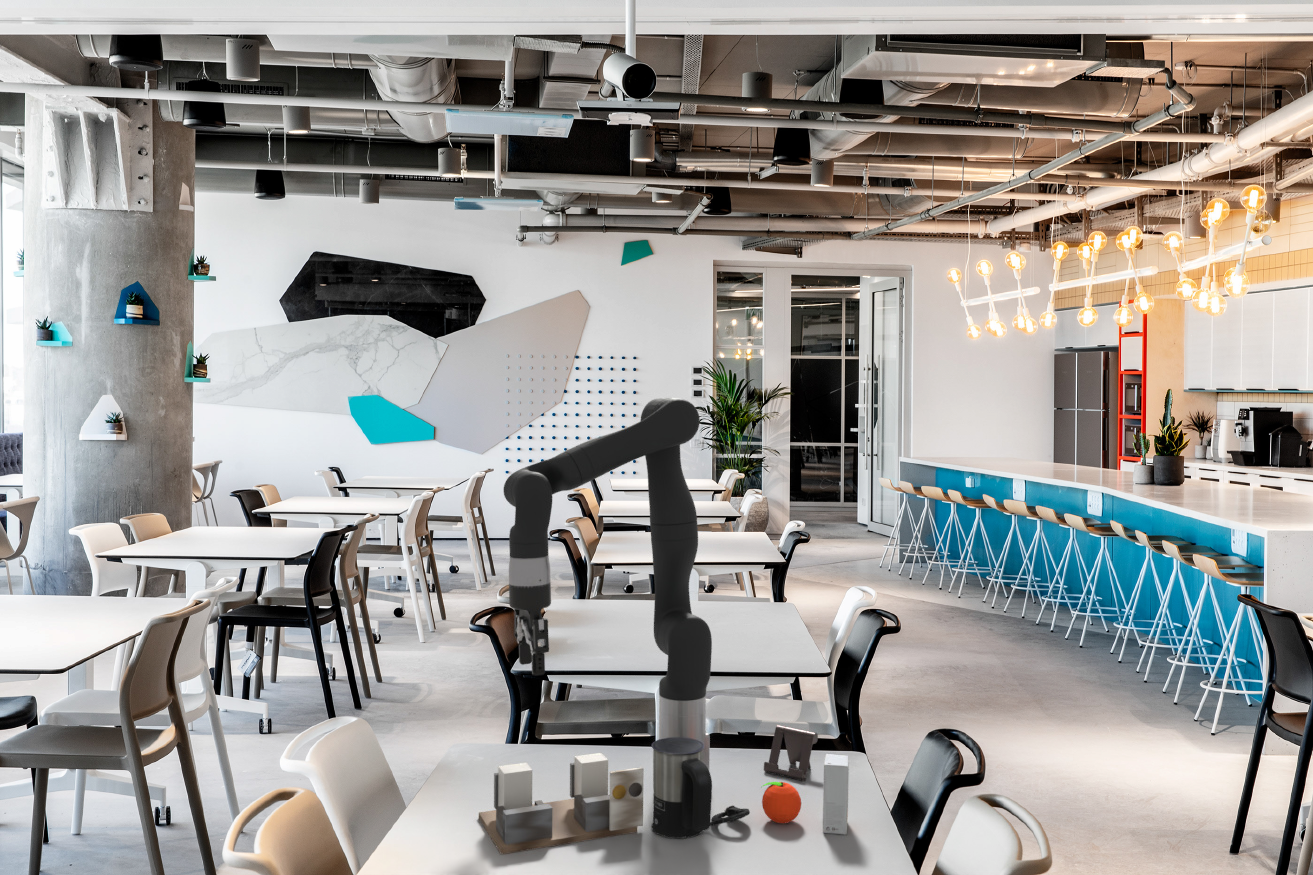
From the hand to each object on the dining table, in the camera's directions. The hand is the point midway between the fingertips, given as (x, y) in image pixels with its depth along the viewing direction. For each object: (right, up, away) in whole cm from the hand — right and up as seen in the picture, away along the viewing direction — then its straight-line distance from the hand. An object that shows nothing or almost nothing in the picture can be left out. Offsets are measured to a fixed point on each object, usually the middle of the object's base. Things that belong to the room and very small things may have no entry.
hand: (531, 668), depth 187 cm
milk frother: (+30, -26, -7) cm, 41 cm away
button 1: (-2, -24, -7) cm, 26 cm away
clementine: (+44, -26, -4) cm, 52 cm away
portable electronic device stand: (+50, -26, +21) cm, 60 cm away
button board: (+5, -26, -7) cm, 27 cm away
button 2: (+11, -24, -2) cm, 27 cm away
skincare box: (+54, -26, -7) cm, 61 cm away
